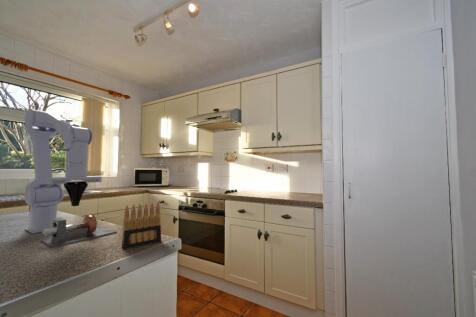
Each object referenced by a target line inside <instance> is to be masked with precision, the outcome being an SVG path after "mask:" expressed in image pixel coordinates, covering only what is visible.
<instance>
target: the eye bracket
mask: <svg viewBox="0 0 476 317" xmlns="http://www.w3.org/2000/svg"><path fill="white" fill-rule="evenodd" d="M66 225H67V219H66V218H62V217H57V218H54V219H53V221H52V228H55V227H57V233H55V234H51V237H47V238H41V239H40V242H41V243H43V244H45V245H47V247H49V248H51V249H54V248H58V247H63V246H66V245H71V244H74V243H78V242H79V243H80V242H83V241H87V240H88V241H89V240H92V239H97V238H100V237H101V238H102V237H105V236H109V235H115V234H117V233H118V231H116V230H114V229H110V228H107V227H104V226H101V227H98V228H97V227H96V231H95V232H94V233H90V234H86V228H82V229H76V230H71V231H66Z"/></svg>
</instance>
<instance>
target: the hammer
mask: <svg viewBox="0 0 476 317" xmlns="http://www.w3.org/2000/svg"><path fill="white" fill-rule="evenodd" d="M97 225H98V221H97V218H96V216H95V215H94V214H90V215H89V214H88V215H85V216H84V218H83V220H82V222H80V223H79V222H78V223H73V224H68V225H67V224H66V231H71V230H76V229H82V228H86V234H90V233H94V232H95V231H96V228H97ZM41 233H42V235H44V236H48V235H52V234H55V233H57V227H55V228H49V229H45V230H43V232H41Z"/></svg>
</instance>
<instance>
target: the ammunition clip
mask: <svg viewBox="0 0 476 317" xmlns="http://www.w3.org/2000/svg"><path fill="white" fill-rule="evenodd" d="M137 207H138V208H137V211H136V206H135V204H133V205H132V207H131V210H130V209H129V205H126V206H125V208H124V216H123V220H122V222H123V223H122V224H123V226H122V237H121V238H122V240H121V249H122V250H128V249H134V248H137V247H144V246H148V245H152V244H158V243H161V242H162V225H161V207H160V203H159V202H157V203H156V206H154V204H153V203H152V202H151V204H150V207H149V208H148V204H147V203H145V204H144V208H143V209H142V205H141V203H140V204H139V205H138V206H137ZM130 212H131V213H130ZM136 213H137V215H136Z"/></svg>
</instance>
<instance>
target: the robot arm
mask: <svg viewBox="0 0 476 317" xmlns="http://www.w3.org/2000/svg"><path fill="white" fill-rule="evenodd" d="M24 127H25V128H24V129H25V133H26V134H28V135H29V136H31V143H32V145H31V147H32V153H33V154H32V156H33V166H34V167H33V168H34V177H35V178H34V179H33V180H32V181H29V182H28V183H27V184H26V185H25V192H24V202H25V203H26V204H27V205H28V206H29V207H30V210H29V215H28V227H25V228H24V229H25V230H26V231H28V232H29V233H31V234H36V233H42V232H43V230H45V229H49V228H52V221H53V219H54V218H58V215H57V214H58V205H59V204H60V202H62V200H63V199H64V195H65V193H64V192H65V191H64V189H65V190H66V193H67V195H68V196H69V199H70V202H71V203H70V205H71V206H72V207H79V206H80V202H81V200H82V197H83V194H84V192H85V191H86V189H87V188H88V186H89V183H102V177H103V176H88V158H89V156H88V155H89V154H88V152H89V145H90V144H91V142H92V141H93V131H92V130H91V129H90V128H89V127H81V126H80V125H79V124H78V123H75V122H74V121H73V119H72V118H67V117H66V118H63V115H62V114H61V113H53V112H50V111H49V112H48V111H44V110H37V109H34V108H29V109H27V111H26V112H25V115H24ZM58 134H59V135H60V136H61V137H62V141H63V143H64V144H63V147H64V149H65V166H64V167H65V171H64V174H65V175H64V177H61V176H59V177H54V176H53V169H52V168H53V167H52V155H51V149H50V147H51V146H50V138H52V137H53V138H54V137H55V136H56V135H58ZM62 185H63V187H64V188H63V187H62Z"/></svg>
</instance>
